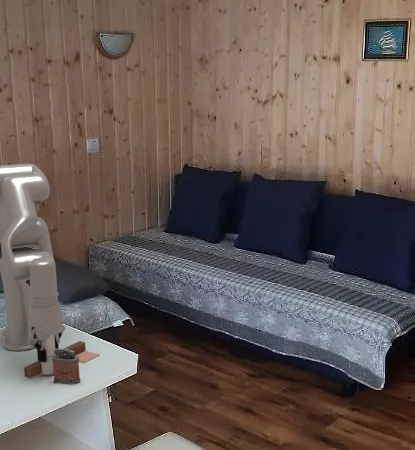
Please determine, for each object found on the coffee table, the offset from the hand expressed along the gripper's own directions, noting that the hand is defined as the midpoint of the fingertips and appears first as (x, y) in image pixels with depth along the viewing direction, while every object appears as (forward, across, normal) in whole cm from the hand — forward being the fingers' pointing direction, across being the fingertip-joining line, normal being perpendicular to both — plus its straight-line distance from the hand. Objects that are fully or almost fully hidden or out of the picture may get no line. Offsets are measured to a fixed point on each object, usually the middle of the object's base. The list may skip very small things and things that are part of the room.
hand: (48, 357), depth 202 cm
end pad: (+5, -15, +1) cm, 16 cm away
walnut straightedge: (+5, -7, -4) cm, 9 cm away
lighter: (+5, +1, +8) cm, 10 cm away
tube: (+5, 0, 0) cm, 5 cm away
